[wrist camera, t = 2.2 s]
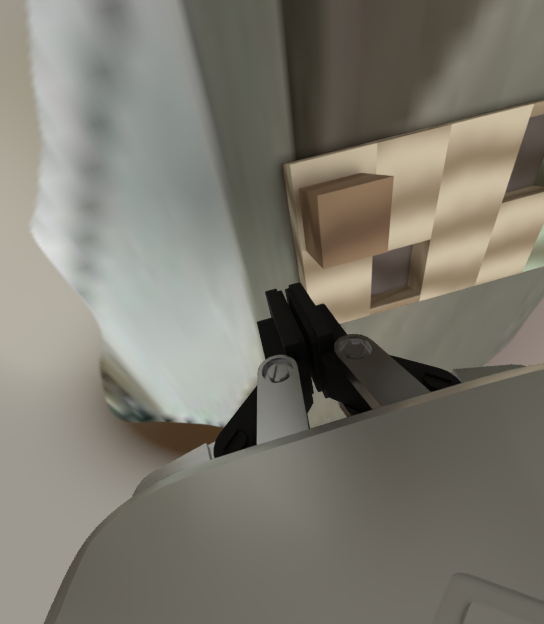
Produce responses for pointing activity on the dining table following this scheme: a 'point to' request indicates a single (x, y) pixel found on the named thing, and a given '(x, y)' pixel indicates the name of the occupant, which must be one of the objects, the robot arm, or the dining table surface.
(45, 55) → the dining table surface
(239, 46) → the dining table surface
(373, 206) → the walnut block
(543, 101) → the trap deck
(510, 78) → the dining table surface
